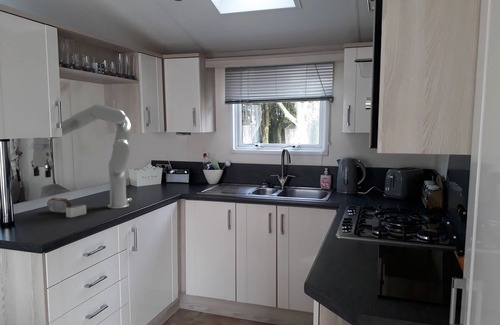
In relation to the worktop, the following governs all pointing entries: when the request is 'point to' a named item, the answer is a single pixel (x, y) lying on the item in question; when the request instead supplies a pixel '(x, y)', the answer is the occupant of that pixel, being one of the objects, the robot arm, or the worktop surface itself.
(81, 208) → the block
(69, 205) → the bread slice
